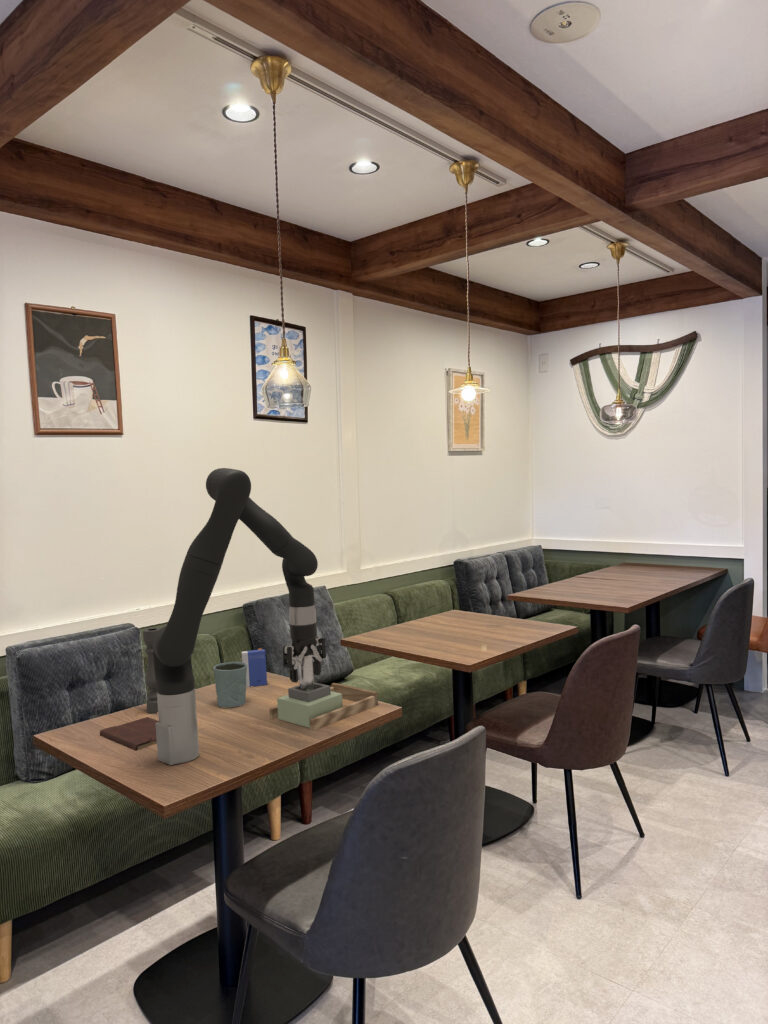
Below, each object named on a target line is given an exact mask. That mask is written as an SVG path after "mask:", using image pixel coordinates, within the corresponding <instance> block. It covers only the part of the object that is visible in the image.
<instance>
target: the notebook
mask: <svg viewBox="0 0 768 1024" xmlns="http://www.w3.org/2000/svg"><path fill="white" fill-rule="evenodd" d="M157 722H159V719H157V720H156V719H154V718H152V717H148V716H146V717H142V718H139V719H136V720H132V721H129V722H126V723H123V724H119V725H114V726H109V727H107V728H104V729H100V731H99V736H101V737H103V738H106V739H108V740H110V741H113V742H115V743H117V744H120V745H122V746H125V747H127V748H129V749H132V750H134V751H138V750H142V749H145V748H148V747H151V746H153V745H157V739H156V723H157Z"/></svg>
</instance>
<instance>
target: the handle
mask: <svg viewBox="0 0 768 1024" xmlns="http://www.w3.org/2000/svg"><path fill="white" fill-rule="evenodd" d="M313 662H314V660H313V659H312V654H310V655H307V656H303V658H302V661H301V662H300V663H299V664H298V683H299V684H298V685H300V690H304V691H308V692H309V691H312V690H314V680H315V679H314V673H313Z"/></svg>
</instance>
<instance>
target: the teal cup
mask: <svg viewBox="0 0 768 1024" xmlns="http://www.w3.org/2000/svg"><path fill="white" fill-rule="evenodd" d="M246 673H247V664H246V663H242V661H229V662H227V661H226V662H223V663H222V662H221V663H218V664H216V665H214V666H213V674H214V684H215V693H216V702H217V706H218V707H219V706H220V707H219V708H221V707H226V708H225V709H228V708H227V707H235V706H239V707H241V706H240V705H242V706H244V705H245V704H246V701H247V700H246V699H247V695H246V694H247V687H246ZM243 704H244V705H243ZM235 708H236V707H235Z"/></svg>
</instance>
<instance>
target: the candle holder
mask: <svg viewBox="0 0 768 1024" xmlns="http://www.w3.org/2000/svg"><path fill="white" fill-rule="evenodd" d="M161 628H162V627H149V628H145V629H142V638H143V642H144V645H145V647H146V648H145V649H144V653H145V654H146V655H147V667H146V673H145V681H144V682H145V686H146V687H147V688H148V693H147V695H146V698H147V699H146V712H147V714H158V713H157V712H158V701H157V687H156V680H155V672H154V659H153V639H154V636H155V635H156V633H157V632H158V631H159V630H160V629H161Z"/></svg>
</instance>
